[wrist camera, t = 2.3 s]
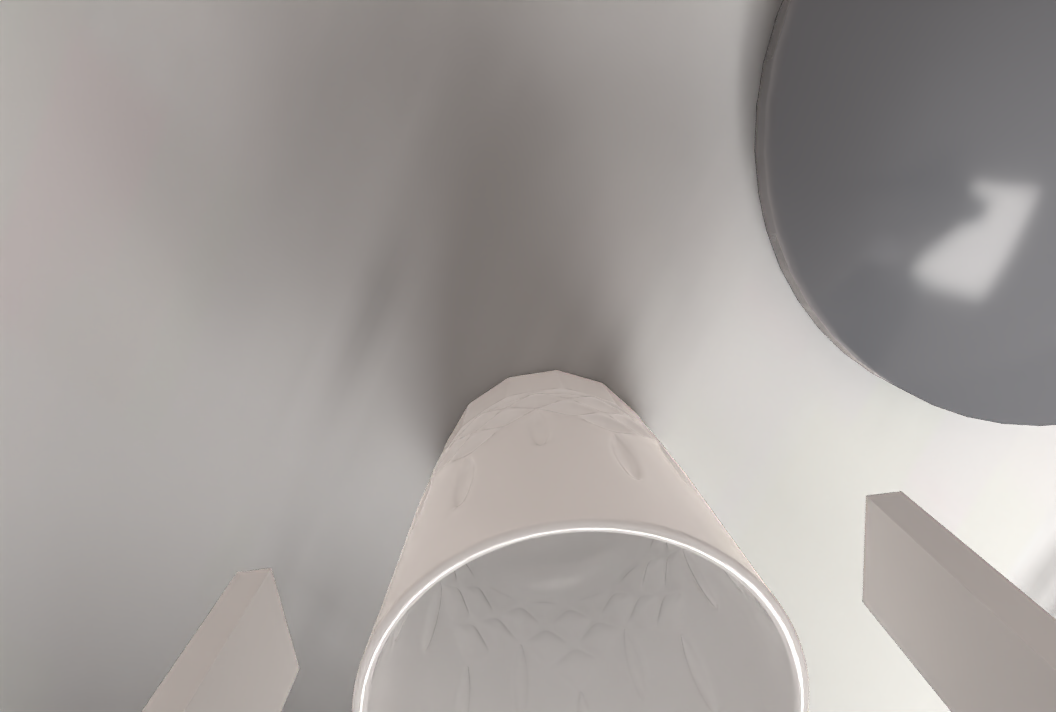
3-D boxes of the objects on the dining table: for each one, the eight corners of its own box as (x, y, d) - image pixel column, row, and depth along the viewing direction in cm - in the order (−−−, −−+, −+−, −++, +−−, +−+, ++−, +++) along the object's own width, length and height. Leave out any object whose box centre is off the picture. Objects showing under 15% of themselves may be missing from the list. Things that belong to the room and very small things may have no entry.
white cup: (582, 301, 19) (660, 426, 9) (712, 493, 21) (887, 763, 11) (376, 440, 20) (252, 683, 10) (517, 611, 22) (523, 953, 12)
